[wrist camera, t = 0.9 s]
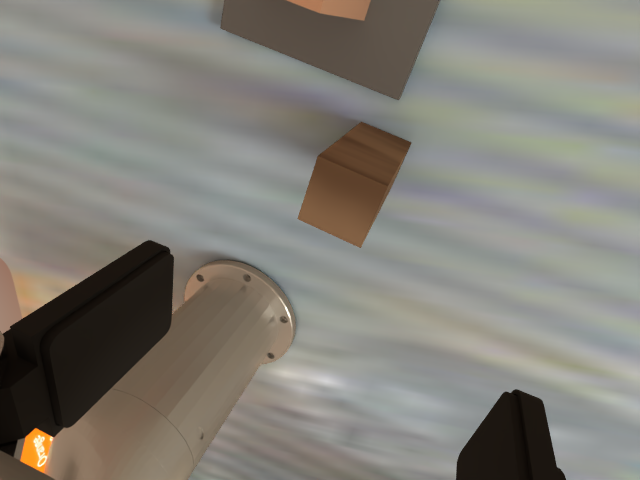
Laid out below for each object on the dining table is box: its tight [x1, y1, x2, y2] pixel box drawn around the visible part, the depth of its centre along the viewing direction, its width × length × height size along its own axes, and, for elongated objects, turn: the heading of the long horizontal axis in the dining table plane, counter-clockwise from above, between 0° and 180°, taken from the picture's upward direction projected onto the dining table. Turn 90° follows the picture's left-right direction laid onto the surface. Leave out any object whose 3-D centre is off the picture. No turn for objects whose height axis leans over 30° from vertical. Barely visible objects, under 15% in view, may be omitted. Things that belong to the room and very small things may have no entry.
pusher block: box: [298, 122, 411, 248], centre depth 26 cm, size 4×4×10 cm
